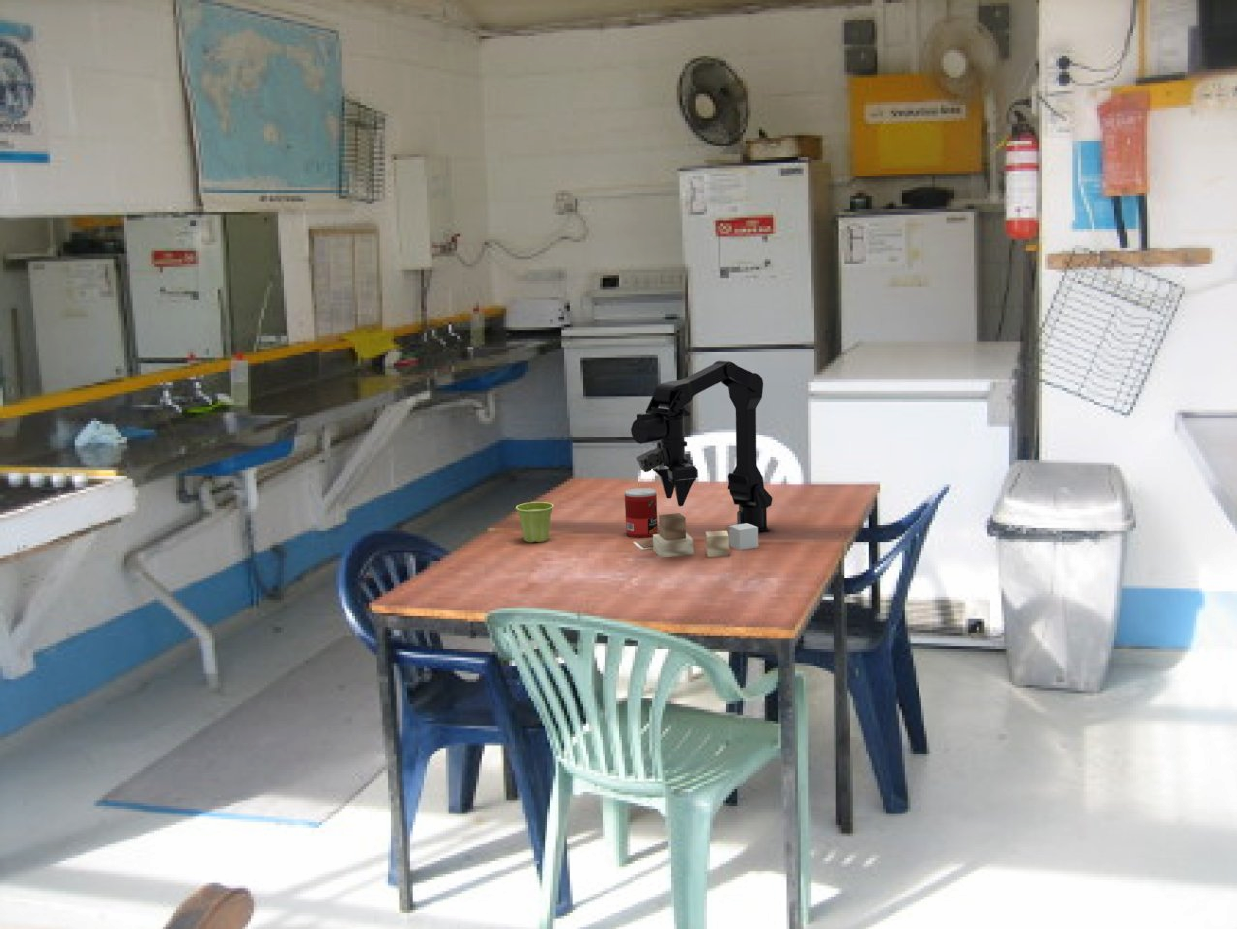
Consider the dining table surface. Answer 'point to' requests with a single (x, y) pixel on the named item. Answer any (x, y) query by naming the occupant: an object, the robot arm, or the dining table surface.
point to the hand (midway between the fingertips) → (674, 502)
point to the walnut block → (672, 526)
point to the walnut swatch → (644, 544)
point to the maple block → (717, 543)
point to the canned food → (641, 512)
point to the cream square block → (672, 546)
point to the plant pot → (535, 520)
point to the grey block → (743, 536)
